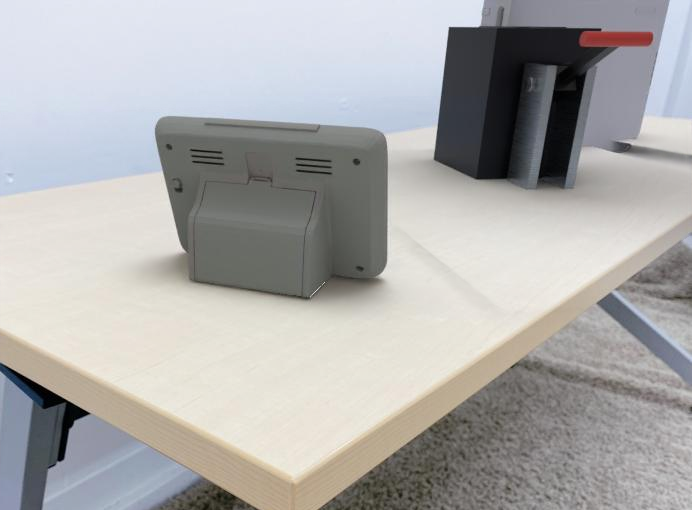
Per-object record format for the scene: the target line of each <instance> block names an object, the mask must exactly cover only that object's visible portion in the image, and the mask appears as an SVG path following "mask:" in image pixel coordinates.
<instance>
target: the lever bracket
mask: <svg viewBox="0 0 692 510" xmlns="http://www.w3.org/2000/svg"><path fill="white" fill-rule="evenodd" d="M571 64H572V63H563V66H569V65H571ZM596 71H597V66H595V65H594V66H593V67H591V68H590V69H589V70H587V71H586V72H585V73H583V74H582V75H581V76H579V77H578V78H577V79H576V88H577V90H576V91H575V92H573V93H572V94H570V95H569V96H568V97H566V98H565V99H563V100H562V101H560V102H556V105H555V111H554V116H553V122H552V128H551V133H550V139H549V145H548V150H547V156H546V161H545V167H544V173H543V178H541V180H542V181H544V182H547V183H549V184H551V185H554V186H557V187H559V188H562V189H563V190H566V189H570V190H571V189H574V187H575V182H576V178H577V173H578V169H579V161H580V156H581V152H582V148H583V147H582V142H583V137H584V132H585V127H586V122H587V117H588V112H589V107H590V102H591V97H592V92H593V86H594V81H595V76H596ZM556 72H557V66H554V65H545V64H535V63H526V64H525V68H524V74H523V80H522V87H521V93H520V99H519V106H518V112H517V118H516V125H515V131H514V137H513V144H512V150H511V156H510V163H509V169H508V175H507V179H506V182H508V183H511V184H514V185H515V186H518V187H520V188H523V189H525V190H537V187H538V181H539V178H538V175H539V169H540V164H541V158H542V152H543V147H544V141H545V135H546V129H547V124H548V118H549V112H550V107H551V101H552V95H553V90H554V84H555V78H556Z"/></svg>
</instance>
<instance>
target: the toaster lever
mask: <svg viewBox="0 0 692 510" xmlns="http://www.w3.org/2000/svg"><path fill="white" fill-rule="evenodd" d="M652 41H653V33H652V32H641V31H584V32H583V33H582V34H581V36H580V40H579V43H580V45H581V46H582V47H592V48H591V49H590V50H588V51H587V52H586V53H585V54H583V55H582V56H581V57H580V58H578V59H577V60H576V61H574V62H573V63H572V64H571V65H569V66H557V72H556V78H555V84H554V90H553V95H552V101H551V102H560V101H562V100H563V99H565V98H566V97H568V96H569V95H570V94H572V93H573V92H575V91H576V90H577V88H576V79H577V78H578V77H579V76H581V75H582V74H583V73H585V72H586V71H587V70H589V69H590V68H591V67H593V66H594V65H596V64H597V63H598V62H600V61H601V60H602V59H604V58H605V57H606V56H608V55H609V54H610V53H612V52H613V51H614V50H616V49H617V48H619V47H648V46H650V45H651V43H652Z"/></svg>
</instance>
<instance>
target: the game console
mask: <svg viewBox="0 0 692 510" xmlns="http://www.w3.org/2000/svg"><path fill="white" fill-rule="evenodd" d="M670 1H671V0H483V4H482V5H483V6H482V9H481V22H480V25H479V26H511V27H513V26H531V27H567V28H602V30H601V31H641V32H652V33H653V41H652V43H651V45H650V46H648V47H619V48H617V49H616V50H614V51H613V52H612V53H610V54H609V55H608V56H606V57H605V58H604V59H602V60H601V61H600V62H598V63H597V64H596V65H595V66H597V71H596V76H595V81H594V86H593V92H592V97H591V102H590V107H589V112H588V117H587V122H586V127H585V132H584V137H583V142H582V147H581V148H588V147H589V148H590V147H592V148H596V149H601V150H604V151H608V152H612V153H621V152H622V153H623V152H626V151H627V150H628V148H629V147H630V146H631V143H628V142H622V141H629V140H636V138H637V137H638V136H639V134H640V133H641V129H642V124H643V120H644V115H645V111H646V106H647V103H648V100H649V99H648V98H649V94H650V90H651V85H652V80H653V75H654V72H655V68H656V64H657V58H658V54H659V50H660V46H661V41H662V37H663V31H664V28H665V23H666V19H667V15H668V10H669V6H670Z"/></svg>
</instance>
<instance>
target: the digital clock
mask: <svg viewBox="0 0 692 510" xmlns="http://www.w3.org/2000/svg"><path fill="white" fill-rule="evenodd" d="M154 137H155V143H156V148H157V152H158V158H159V163H160V165H161V170H162V174H163V179H164V181H165V186H166V191H167V195H168V200H169V203H170V207H171V212H172V216H173V220H174V221H173V222H174V224H175V225H174V226H175V229H176V234H177V237H178V240H179V244H180V246H181V248H182V249H183V251H184V252H186V253H187V255H188V256H187V257H188V259H187V260H188V278H189V280H190V281H195V282H196V281H197V282H201V283H208V284H215V285H220V284H221V286H227V287H233V286H234V288H240V289H246V288H247V290H253V289H254V291H259V290H260V291H259V292H265V291H266V293H272V292H273V294H278V293H280V295H285V294H287V295H286V296H291V295H297V296H296V297H298V296H303V297H302V298H306V297H310V296H311V295H312V294H313V293H314V292H315V291H316V290H317V289H318V288H319V287H320V286H321V285H322V284H323V283H324V282H326V281H327V280H328V279H329V278H330V277H331V276H332V275H333V276H338V277H339V276H340V277H347V278H356V279H372V278H375V277H378V276H380V275H381V274H382V273H383V272H384V271H385V269H386V267H387V265H388V232H389V231H388V226H389V225H388V223H389V222H388V216H389V215H388V211H389V209H388V207H389V206H388V205H389V204H388V203H389V201H388V196H389V189H388V188H389V176H388V175H389V156H388V155H389V153H388V142H387V138H386V136H385V134H384V133H383V132H382V131H380V130H378V129H375V128H372V127H364V126H350V125H336V124H319V123H305V122H289V121H288V122H287V121H272V120H258V119H257V120H255V119H254V120H253V119H239V118H223V117H222V118H221V117H205V116H203V117H201V116H181V115H166V116H162V117H160V118H159V119H158V120H157V122H156V123H155V127H154ZM333 276H332V277H333ZM332 277H331V278H332ZM331 278H330V279H331ZM330 279H329V280H330ZM329 280H328V281H329ZM328 281H327V282H328ZM327 282H326V283H327Z"/></svg>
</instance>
